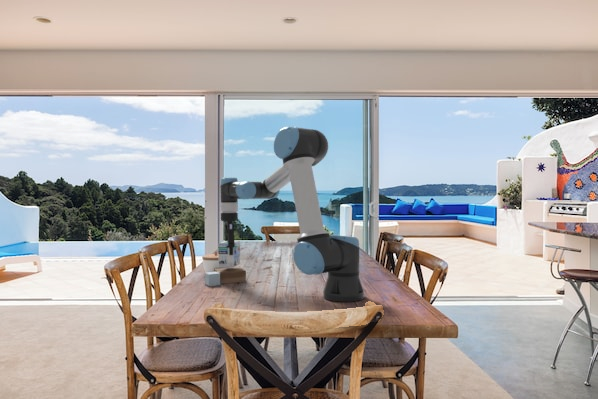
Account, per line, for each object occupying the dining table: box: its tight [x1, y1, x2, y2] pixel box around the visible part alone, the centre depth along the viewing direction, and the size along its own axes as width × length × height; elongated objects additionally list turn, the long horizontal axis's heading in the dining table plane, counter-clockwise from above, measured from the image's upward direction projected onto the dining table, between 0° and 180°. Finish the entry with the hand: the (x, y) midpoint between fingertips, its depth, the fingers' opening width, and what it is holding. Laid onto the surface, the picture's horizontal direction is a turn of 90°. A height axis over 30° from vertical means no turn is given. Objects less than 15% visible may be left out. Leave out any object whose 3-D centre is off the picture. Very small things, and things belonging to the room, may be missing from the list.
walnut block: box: [214, 266, 247, 284], centre depth 199 cm, size 12×12×5 cm
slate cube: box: [204, 271, 221, 287], centre depth 189 cm, size 5×5×5 cm
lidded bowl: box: [202, 251, 225, 273], centre depth 211 cm, size 13×13×11 cm
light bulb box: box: [217, 240, 241, 268], centre depth 198 cm, size 11×7×11 cm, turn 168°
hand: (229, 260), depth 198 cm, fingers closed on light bulb box, 12 cm apart
